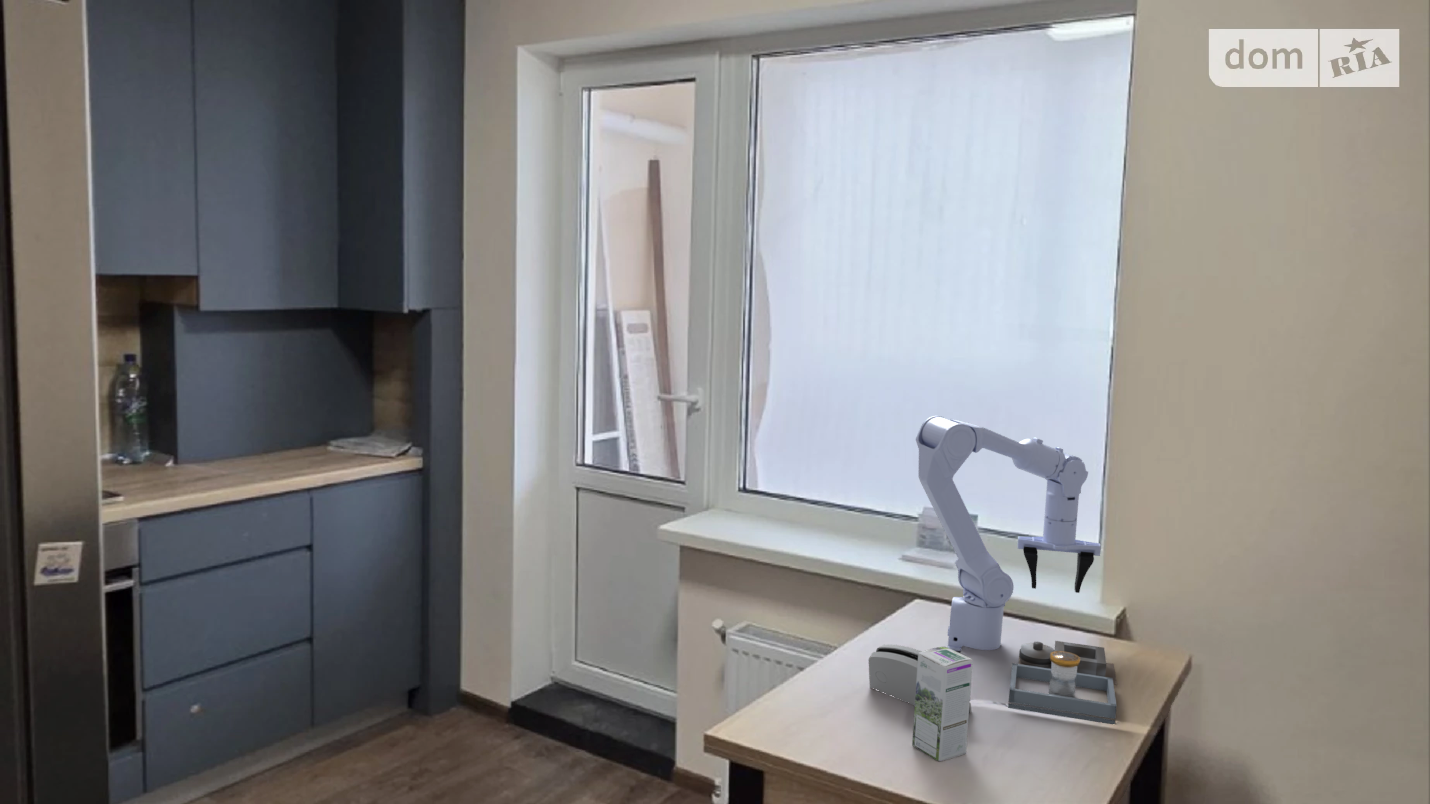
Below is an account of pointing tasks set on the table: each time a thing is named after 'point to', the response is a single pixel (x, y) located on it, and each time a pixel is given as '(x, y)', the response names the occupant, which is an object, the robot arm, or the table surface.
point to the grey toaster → (895, 671)
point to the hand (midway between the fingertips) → (1055, 589)
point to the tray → (1062, 701)
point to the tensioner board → (1089, 655)
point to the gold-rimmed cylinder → (1063, 673)
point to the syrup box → (942, 703)
